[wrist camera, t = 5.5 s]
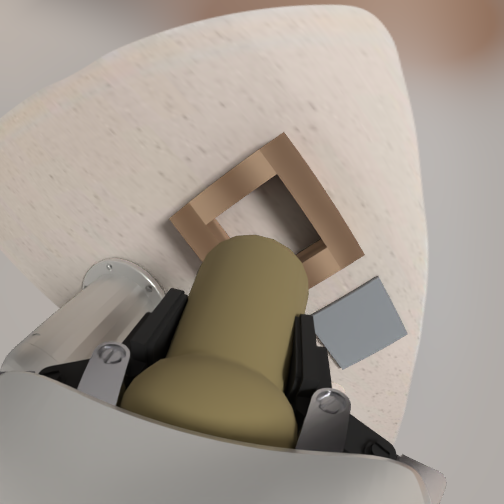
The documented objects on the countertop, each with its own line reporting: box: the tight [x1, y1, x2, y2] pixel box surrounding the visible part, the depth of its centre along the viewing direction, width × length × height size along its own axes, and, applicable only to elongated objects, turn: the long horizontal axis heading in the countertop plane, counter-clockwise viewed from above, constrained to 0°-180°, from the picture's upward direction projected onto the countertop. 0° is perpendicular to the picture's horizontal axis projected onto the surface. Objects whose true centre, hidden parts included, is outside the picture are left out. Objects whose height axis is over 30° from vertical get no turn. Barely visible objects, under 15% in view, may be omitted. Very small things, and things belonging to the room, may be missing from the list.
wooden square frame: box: [169, 132, 365, 289], centre depth 27 cm, size 13×13×3 cm
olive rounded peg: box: [120, 235, 309, 449], centre depth 10 cm, size 6×6×11 cm
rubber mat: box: [312, 276, 407, 370], centre depth 30 cm, size 9×9×1 cm
